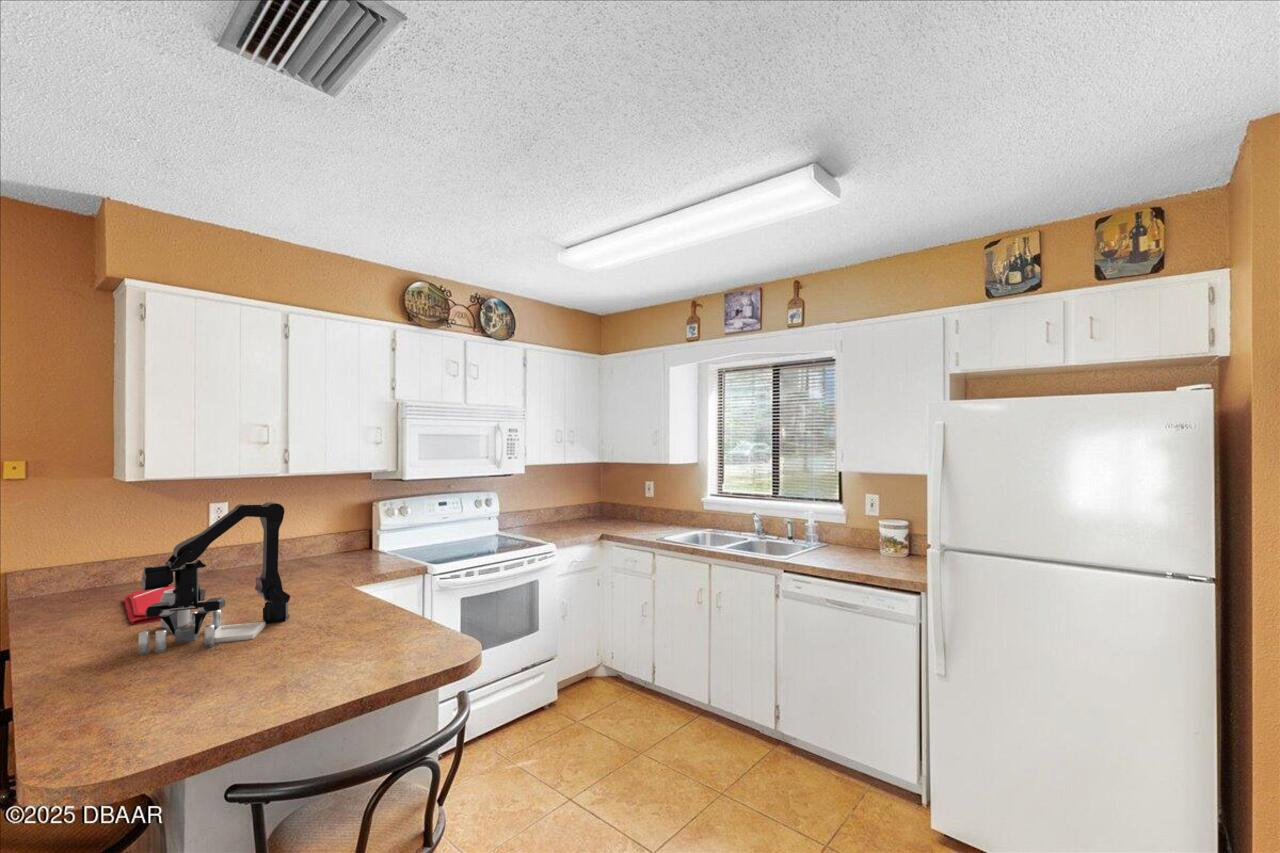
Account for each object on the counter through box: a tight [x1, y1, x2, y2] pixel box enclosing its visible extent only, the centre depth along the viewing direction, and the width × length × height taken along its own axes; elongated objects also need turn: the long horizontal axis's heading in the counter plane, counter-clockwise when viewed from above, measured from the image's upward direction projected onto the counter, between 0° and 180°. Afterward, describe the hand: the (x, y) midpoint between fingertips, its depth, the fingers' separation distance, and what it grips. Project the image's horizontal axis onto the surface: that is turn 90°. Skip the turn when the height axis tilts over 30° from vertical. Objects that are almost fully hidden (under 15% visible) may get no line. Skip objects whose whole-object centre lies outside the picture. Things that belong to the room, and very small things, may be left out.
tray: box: [203, 621, 266, 645], centre depth 181 cm, size 13×13×2 cm
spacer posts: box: [138, 608, 222, 656], centre depth 177 cm, size 18×20×6 cm
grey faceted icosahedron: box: [174, 625, 199, 644], centre depth 177 cm, size 5×6×4 cm
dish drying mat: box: [124, 585, 175, 626], centre depth 212 cm, size 16×41×4 cm, turn 44°
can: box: [160, 589, 191, 630], centre depth 190 cm, size 8×8×12 cm
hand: (186, 634), depth 177 cm, fingers closed on grey faceted icosahedron, 5 cm apart
